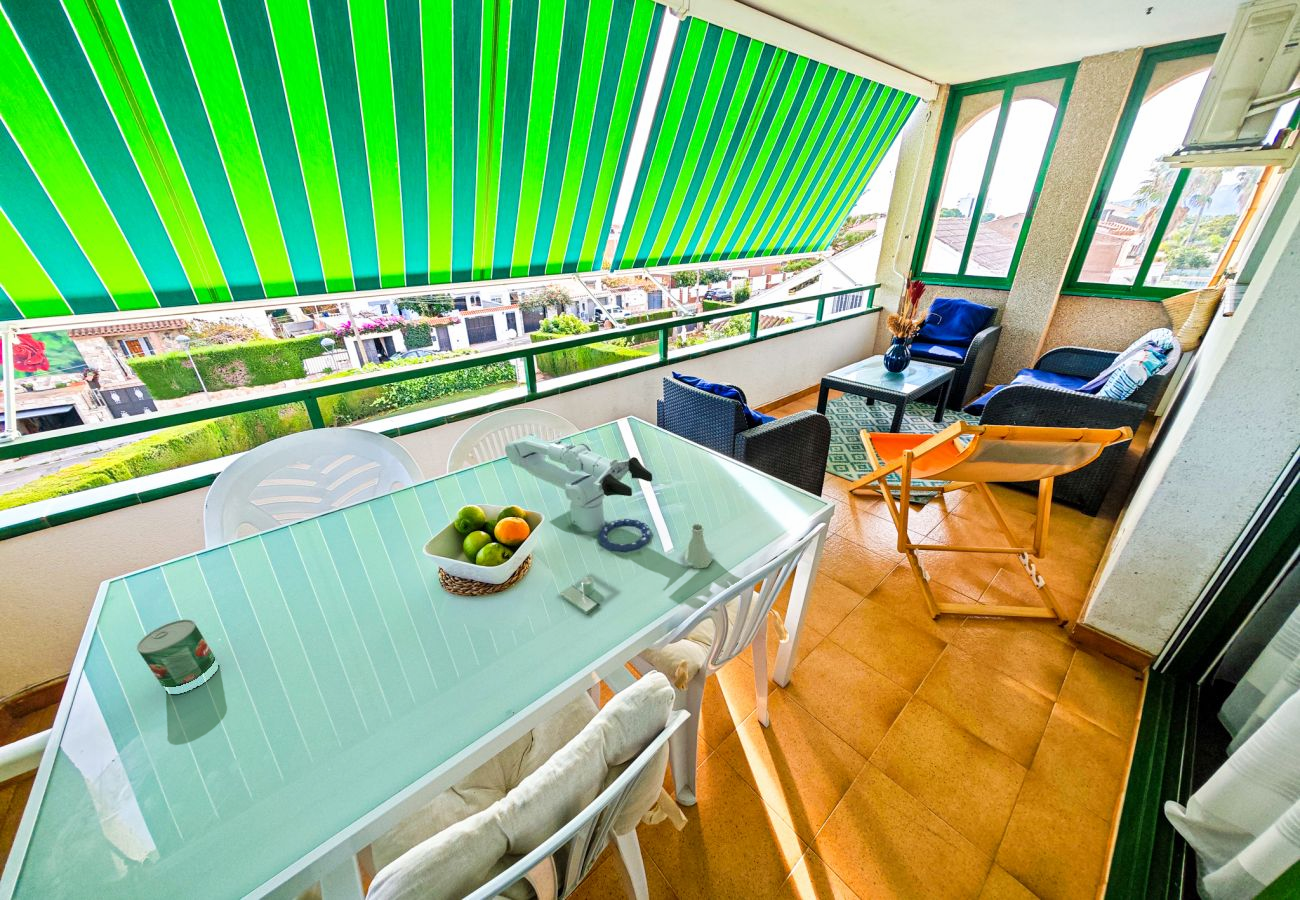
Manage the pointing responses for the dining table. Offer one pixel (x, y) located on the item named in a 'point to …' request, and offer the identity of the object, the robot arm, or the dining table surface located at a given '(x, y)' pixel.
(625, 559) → the dining table surface
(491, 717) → the dining table surface
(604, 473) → the robot arm
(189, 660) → the canned tomato
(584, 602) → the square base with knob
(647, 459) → the dining table surface
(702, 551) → the flask
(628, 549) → the ring
